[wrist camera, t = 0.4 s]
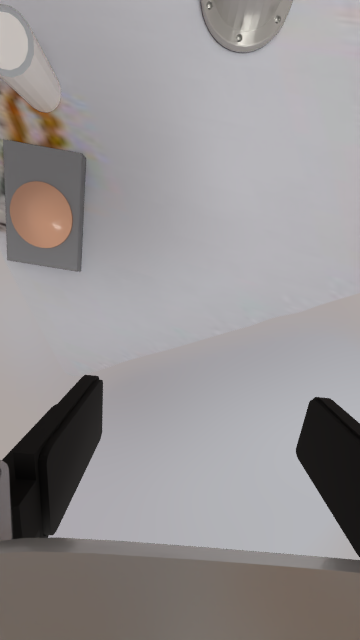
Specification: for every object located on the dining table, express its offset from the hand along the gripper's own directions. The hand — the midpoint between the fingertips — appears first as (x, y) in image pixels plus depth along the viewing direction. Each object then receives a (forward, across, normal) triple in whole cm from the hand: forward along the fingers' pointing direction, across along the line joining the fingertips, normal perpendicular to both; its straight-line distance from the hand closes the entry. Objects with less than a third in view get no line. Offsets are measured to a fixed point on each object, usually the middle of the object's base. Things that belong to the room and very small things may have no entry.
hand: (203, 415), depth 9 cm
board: (+31, +25, -13) cm, 42 cm away
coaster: (+29, +25, -12) cm, 41 cm away
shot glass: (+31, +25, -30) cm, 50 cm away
